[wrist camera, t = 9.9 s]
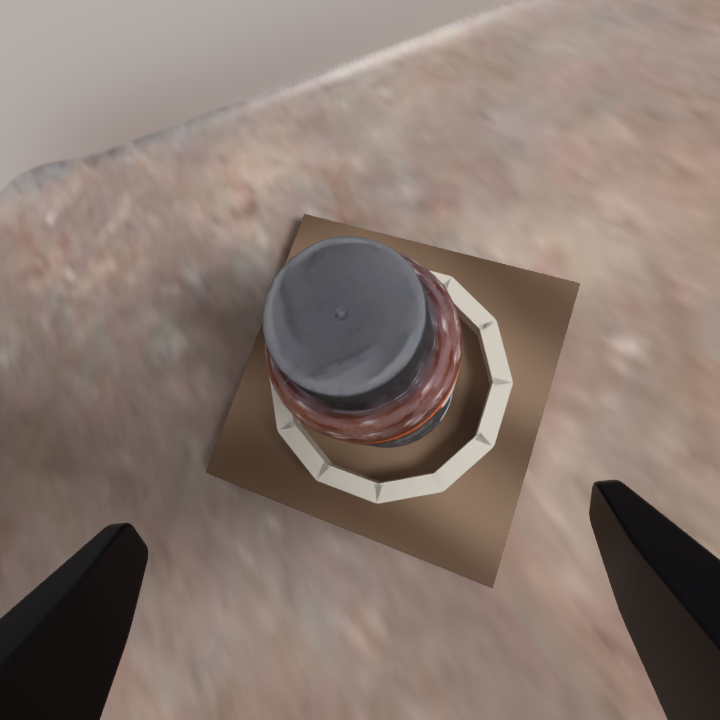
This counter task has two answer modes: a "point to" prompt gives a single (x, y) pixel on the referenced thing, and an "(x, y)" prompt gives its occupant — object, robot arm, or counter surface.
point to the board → (458, 426)
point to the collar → (454, 466)
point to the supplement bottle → (362, 342)
